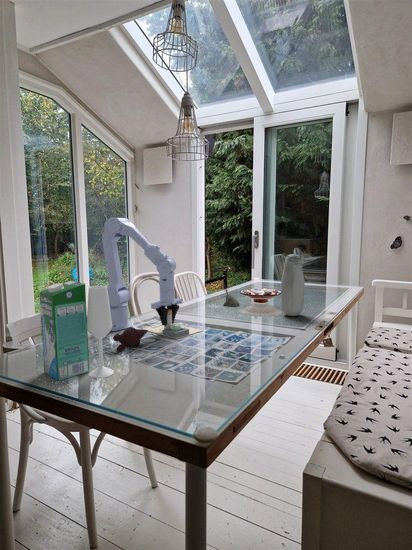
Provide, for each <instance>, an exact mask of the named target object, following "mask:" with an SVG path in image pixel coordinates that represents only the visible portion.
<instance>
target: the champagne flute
mask: <svg viewBox="0 0 412 550" xmlns="http://www.w3.org/2000/svg"><path fill="white" fill-rule="evenodd" d="M107 287H108V285H92V286H89V287H88V294H87V309H86V311H87V332H88V333H89V335H91V336H92V337H93V338H95V339H97V348H98V349H97V351H98V353H97V354H98V367H96V368H95V369H93V370H92V371H89V372H88V373H89V374H88V376H89V377H91V378H95V379H97V378H100V379H101V378H106V377H110V376H112V375H113V374H114V373H115V370H113V369H111V368H109V367H106V366H104V350H103V349H104V348H103V339H104V338H105V337H106V336H107V335H108V334H110V332H111V328H112V320H111V313H110V306H109V298H108V291H107Z"/></svg>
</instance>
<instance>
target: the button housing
mask: <svg viewBox="0 0 412 550" xmlns="http://www.w3.org/2000/svg"><path fill="white" fill-rule="evenodd" d="M187 334H189V329H186V328H182V327H181V330H180V331H177V332H174V331H171V328H167V329H164V330H163V335H162V336H164V335H167V336H170V337H169V338H171V337H174V338H173V339H175V338H177V337H180V336H184V335H187ZM167 336H166V337H167Z"/></svg>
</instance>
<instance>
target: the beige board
mask: <svg viewBox="0 0 412 550" xmlns="http://www.w3.org/2000/svg"><path fill="white" fill-rule="evenodd" d="M180 325H181V327H182V328H186V329H189V334H187V335H184V336H180V337H177V338H174V337H170V336H167V335H163V330H164V325H162V323H160V324H156V325H152V326H149V327H143V328H141V330H148V331H147V332H150V333H153V334H157V335H161V336H165V337H168V338H172V339H175V340H178V339H181V338H185V337H188V336H192V335H194V334H198V333H202V332H204V330H202V329H197V328H194V327H191V326H185V325H182V324H180Z"/></svg>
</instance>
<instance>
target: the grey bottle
mask: <svg viewBox="0 0 412 550" xmlns="http://www.w3.org/2000/svg"><path fill="white" fill-rule="evenodd" d="M302 263H303V259H302V257H301V256H300V255H299V254H297V253H290V254H288V255H286V257H285V259H284V265H283V272H282V276H281V281H280V282H281V283H280V293H281V294H280V299H281V300H280V301H281V302H280V303H281V305H280V306H281V310H282V311H283V313H284V314H285V315H286V316H287V317H296V316H299V315H300V314H302V312H303V310H304V304H305V275H304V271H303V264H302Z"/></svg>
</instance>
